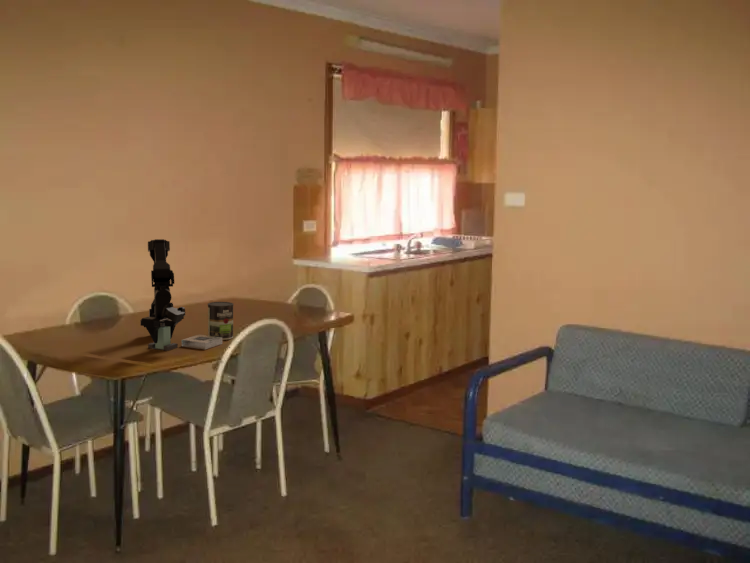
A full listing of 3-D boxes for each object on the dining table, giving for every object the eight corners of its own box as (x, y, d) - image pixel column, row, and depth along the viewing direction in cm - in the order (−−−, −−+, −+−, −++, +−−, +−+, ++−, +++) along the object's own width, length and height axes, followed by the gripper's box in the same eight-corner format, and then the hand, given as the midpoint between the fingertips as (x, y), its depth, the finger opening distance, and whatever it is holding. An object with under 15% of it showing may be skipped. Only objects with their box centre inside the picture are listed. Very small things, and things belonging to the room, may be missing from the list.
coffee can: (237, 338, 332) (237, 304, 330) (214, 341, 326) (214, 306, 324) (226, 333, 340) (226, 300, 338) (203, 336, 334) (203, 302, 332)
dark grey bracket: (148, 350, 308) (148, 344, 308) (158, 347, 314) (158, 341, 313) (167, 353, 305) (167, 346, 304) (177, 350, 310) (177, 343, 310)
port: (181, 348, 312) (181, 339, 312) (199, 343, 322) (199, 334, 322) (205, 352, 308) (205, 343, 307) (222, 346, 318) (222, 337, 317)
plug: (155, 348, 308) (154, 323, 307) (162, 346, 312) (161, 321, 310) (163, 349, 306) (163, 324, 305) (170, 347, 310) (170, 322, 309)
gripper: (163, 306, 295) (164, 348, 297) (195, 298, 311) (195, 338, 314) (139, 303, 299) (139, 344, 301) (171, 296, 316) (172, 335, 318)
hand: (162, 340), depth 309 cm, fingers open, 8 cm apart
